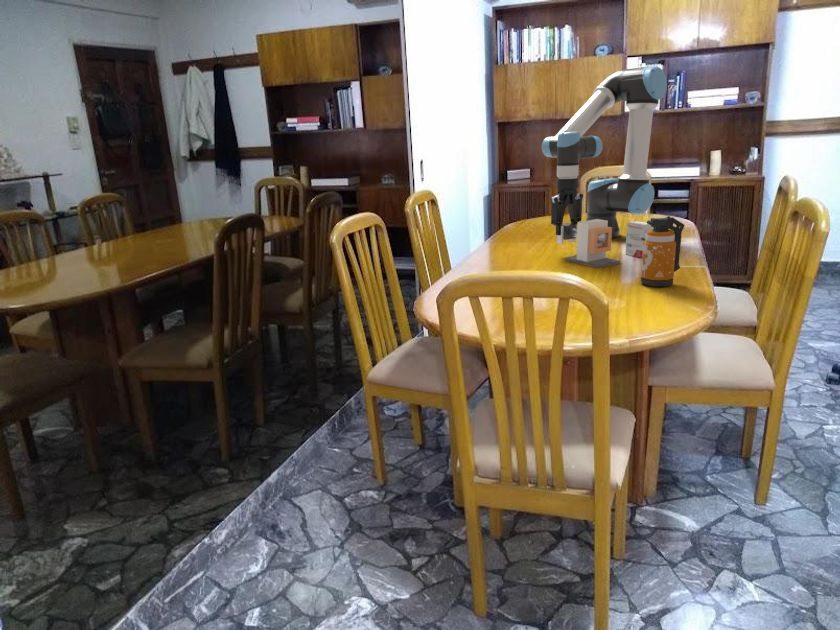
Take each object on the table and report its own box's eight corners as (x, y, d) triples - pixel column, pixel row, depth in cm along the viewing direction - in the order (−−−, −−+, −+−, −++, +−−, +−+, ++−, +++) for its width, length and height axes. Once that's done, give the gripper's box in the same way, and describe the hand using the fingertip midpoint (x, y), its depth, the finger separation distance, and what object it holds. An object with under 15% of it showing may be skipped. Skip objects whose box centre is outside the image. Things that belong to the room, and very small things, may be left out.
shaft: (556, 237, 224) (556, 224, 222) (566, 236, 226) (566, 222, 225) (597, 246, 207) (598, 231, 205) (608, 244, 209) (609, 229, 208)
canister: (635, 281, 187) (639, 215, 181) (670, 279, 188) (676, 213, 182) (648, 289, 178) (653, 220, 172) (685, 286, 179) (691, 217, 173)
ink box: (652, 256, 217) (655, 223, 214) (642, 258, 215) (644, 224, 212) (635, 252, 225) (637, 220, 221) (624, 254, 223) (626, 221, 219)
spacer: (588, 252, 209) (589, 229, 207) (605, 249, 213) (606, 226, 210) (593, 254, 207) (594, 230, 205) (610, 250, 211) (612, 227, 208)
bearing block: (565, 260, 218) (566, 220, 214) (586, 255, 223) (587, 217, 219) (598, 268, 205) (600, 226, 201) (620, 263, 210) (622, 222, 205)
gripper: (578, 174, 224) (576, 238, 231) (540, 179, 215) (539, 244, 222) (594, 175, 218) (591, 240, 225) (555, 180, 209) (554, 247, 216)
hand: (565, 242), depth 224 cm, fingers closed on shaft, 5 cm apart
